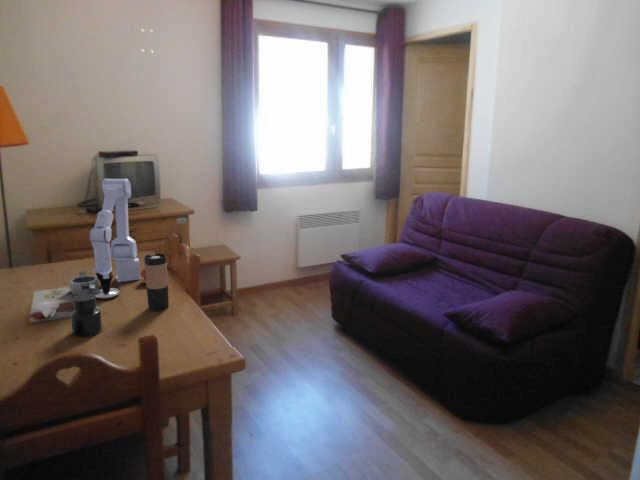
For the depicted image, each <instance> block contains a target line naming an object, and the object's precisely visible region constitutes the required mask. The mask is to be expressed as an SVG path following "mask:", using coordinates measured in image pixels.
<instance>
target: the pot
mask: <svg viewBox="0 0 640 480" xmlns="http://www.w3.org/2000/svg"><path fill="white" fill-rule="evenodd" d="M69 283H70V289H71V292H70V293H71V294H72V295H74V296H78V295H83V294H93V292H95V291H97V290H99V280H98V278H97V275H96V276H95V275H87V272H86V271H85V270H83V271H79V272H78V276H77V277H74V278H72V279H70V281H69Z"/></svg>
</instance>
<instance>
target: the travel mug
mask: <svg viewBox="0 0 640 480" xmlns="http://www.w3.org/2000/svg"><path fill="white" fill-rule="evenodd" d="M143 259H144V268H145V274H146V280H145V285H146V295H147V296H146V297H147V304H148V305H147V306H148V309H149V311H152V312H162V311H165V310H168V309H169V304H170V303H169V299H170V298H169V282H168V281H169V280H168V268H167V267H168V266H167V257H166V254H164V253H155V254H152V255H151V254H145V256H144V258H143Z"/></svg>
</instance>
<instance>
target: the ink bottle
mask: <svg viewBox="0 0 640 480" xmlns="http://www.w3.org/2000/svg"><path fill="white" fill-rule="evenodd" d="M72 305H73V310H74V311H73V312H72V313H71V316H70V319H71V320H70V321H71V329H72V333H73V335H75V336H77V337H90V336H93V335H95V334H99V333H100V332H101V331H102V330H103V323H102V312H101V310H100V309H99V308H97V298H96V296H95V295H93V294H83V295H75V296H74V297H73V298H72Z"/></svg>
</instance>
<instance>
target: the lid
mask: <svg viewBox="0 0 640 480" xmlns="http://www.w3.org/2000/svg"><path fill="white" fill-rule="evenodd" d="M119 294H120V290H119V288H115V287H110V291H109V292H107V293H104V292H103V290H102V288H101V289H99V290H97V291H95V292H93V295H95V296H96V299H98V300H110V299H113V298H114V297H116V296H118V295H119Z"/></svg>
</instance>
